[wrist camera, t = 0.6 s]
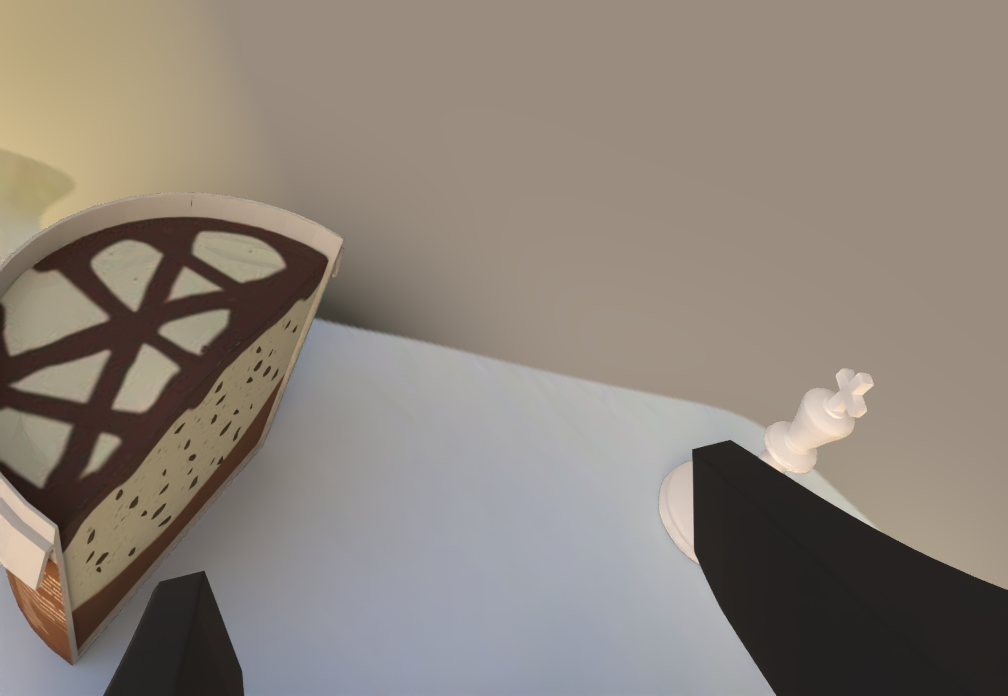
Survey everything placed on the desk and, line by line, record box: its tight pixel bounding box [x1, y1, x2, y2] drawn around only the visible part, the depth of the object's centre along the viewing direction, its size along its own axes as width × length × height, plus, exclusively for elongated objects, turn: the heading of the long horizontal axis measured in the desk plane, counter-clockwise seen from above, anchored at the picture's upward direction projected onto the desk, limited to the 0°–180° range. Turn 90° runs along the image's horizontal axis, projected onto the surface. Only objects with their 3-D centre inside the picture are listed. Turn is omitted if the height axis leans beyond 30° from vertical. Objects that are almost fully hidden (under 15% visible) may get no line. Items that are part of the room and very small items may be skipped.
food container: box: [0, 192, 345, 666], centre depth 27 cm, size 12×6×10 cm, turn 154°
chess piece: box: [659, 368, 874, 565], centre depth 36 cm, size 5×5×10 cm
